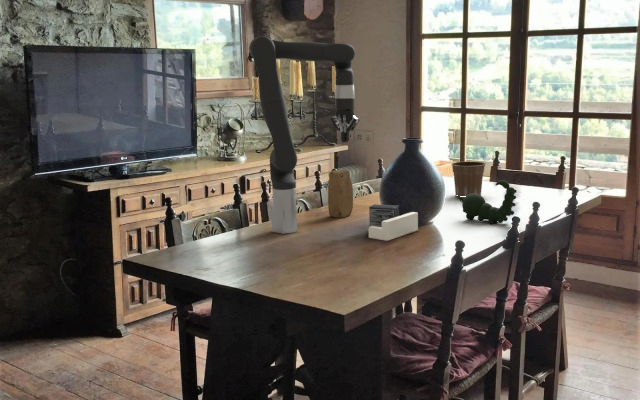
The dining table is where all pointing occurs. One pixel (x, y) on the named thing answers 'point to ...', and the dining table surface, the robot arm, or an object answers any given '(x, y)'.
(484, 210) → the toy figurine
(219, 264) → the dining table surface
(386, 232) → the board
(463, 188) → the plant pot
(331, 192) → the block
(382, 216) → the small box
